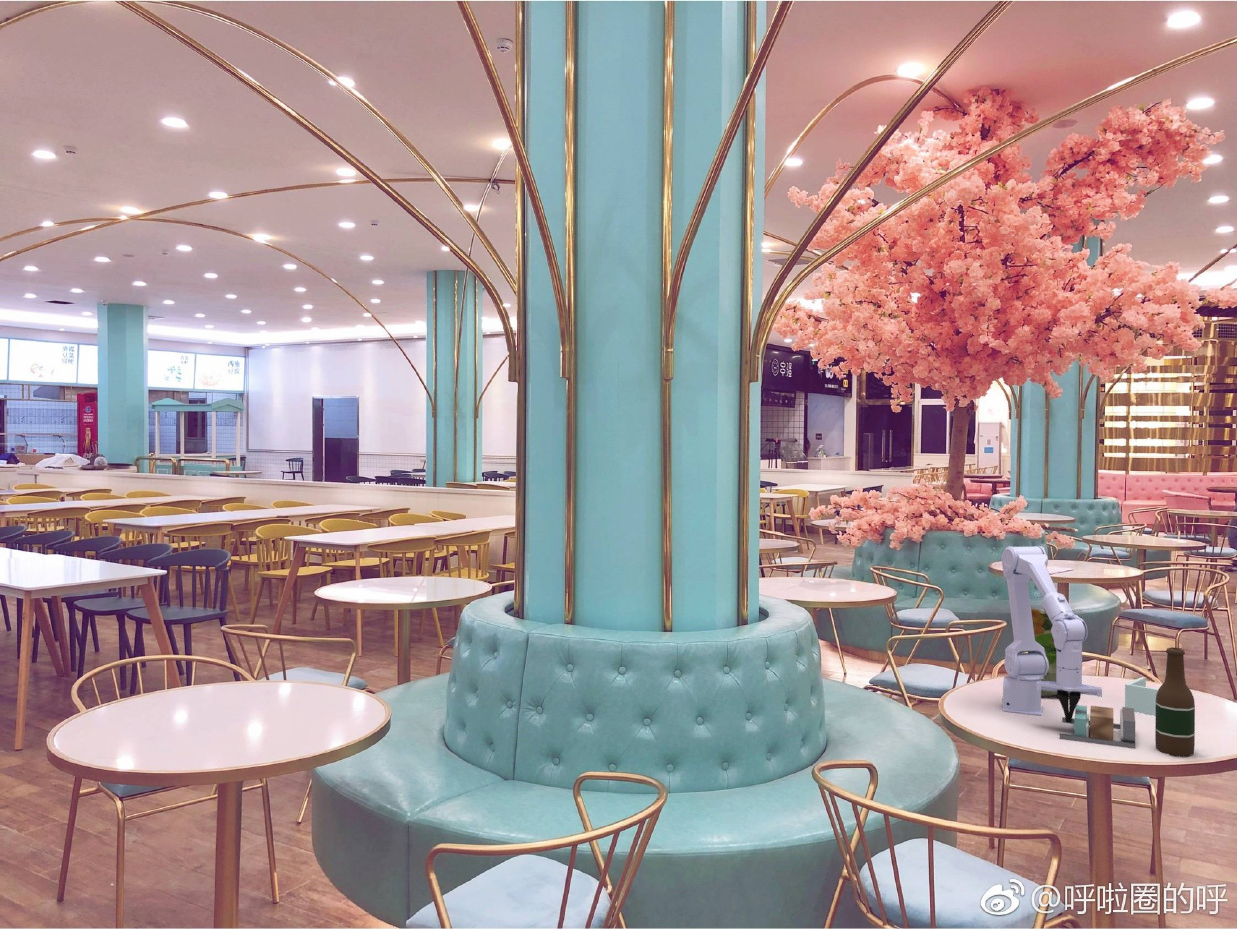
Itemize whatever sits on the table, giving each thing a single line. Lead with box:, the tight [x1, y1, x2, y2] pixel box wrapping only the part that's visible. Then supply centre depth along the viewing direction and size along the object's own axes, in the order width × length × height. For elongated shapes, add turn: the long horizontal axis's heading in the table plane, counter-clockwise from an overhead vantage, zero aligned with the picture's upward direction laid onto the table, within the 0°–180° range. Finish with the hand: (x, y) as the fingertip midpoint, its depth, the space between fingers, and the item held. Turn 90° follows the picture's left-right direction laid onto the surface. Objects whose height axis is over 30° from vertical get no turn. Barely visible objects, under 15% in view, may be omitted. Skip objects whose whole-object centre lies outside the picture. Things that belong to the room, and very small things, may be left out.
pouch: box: [1027, 606, 1070, 698], centre depth 264 cm, size 11×12×25 cm
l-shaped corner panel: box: [1124, 676, 1159, 717], centre depth 248 cm, size 12×12×8 cm
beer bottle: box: [1154, 647, 1196, 758], centre depth 214 cm, size 8×8×24 cm
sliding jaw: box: [1073, 704, 1090, 737], centre depth 228 cm, size 3×13×5 cm, turn 152°
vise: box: [1059, 706, 1136, 750], centre depth 227 cm, size 16×16×6 cm
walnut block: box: [1089, 705, 1114, 740], centre depth 226 cm, size 5×10×6 cm, turn 152°
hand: (1068, 721), depth 230 cm, fingers closed
